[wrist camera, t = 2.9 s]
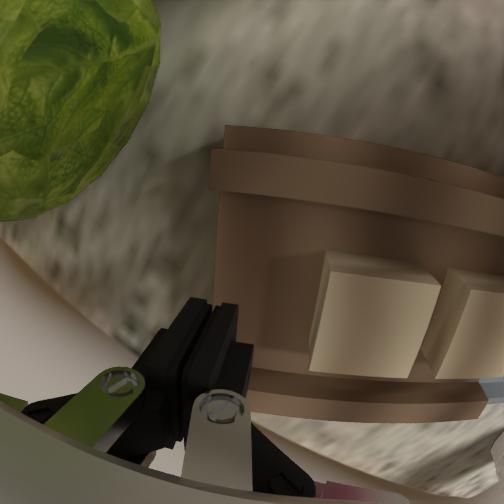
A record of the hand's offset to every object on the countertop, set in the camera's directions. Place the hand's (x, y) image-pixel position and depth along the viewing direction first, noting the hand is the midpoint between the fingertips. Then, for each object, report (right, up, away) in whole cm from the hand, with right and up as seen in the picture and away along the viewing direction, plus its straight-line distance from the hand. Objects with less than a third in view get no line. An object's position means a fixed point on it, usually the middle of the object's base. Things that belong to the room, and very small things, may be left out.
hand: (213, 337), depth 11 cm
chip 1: (+7, +1, +3) cm, 7 cm away
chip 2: (+12, 0, +2) cm, 13 cm away
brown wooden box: (+8, +2, +7) cm, 11 cm away
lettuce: (-13, +16, +6) cm, 22 cm away
